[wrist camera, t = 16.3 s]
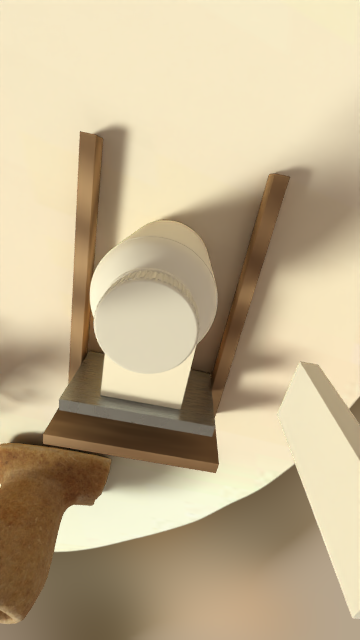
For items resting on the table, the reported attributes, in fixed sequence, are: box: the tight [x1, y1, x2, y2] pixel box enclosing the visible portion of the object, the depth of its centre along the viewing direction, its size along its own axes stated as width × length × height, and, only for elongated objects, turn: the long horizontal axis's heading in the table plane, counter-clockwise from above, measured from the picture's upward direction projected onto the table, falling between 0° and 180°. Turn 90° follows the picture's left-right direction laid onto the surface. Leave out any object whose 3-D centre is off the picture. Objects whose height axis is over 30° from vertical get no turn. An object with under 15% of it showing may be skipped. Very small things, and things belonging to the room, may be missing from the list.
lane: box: [43, 131, 290, 473], centre depth 26 cm, size 26×16×8 cm, turn 169°
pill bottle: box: [90, 220, 218, 374], centre depth 21 cm, size 8×8×15 cm
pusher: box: [59, 351, 215, 437], centre depth 29 cm, size 1×13×8 cm, turn 79°
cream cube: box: [100, 346, 196, 409], centre depth 28 cm, size 7×7×7 cm
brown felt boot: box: [0, 443, 111, 624], centre depth 34 cm, size 15×12×15 cm
